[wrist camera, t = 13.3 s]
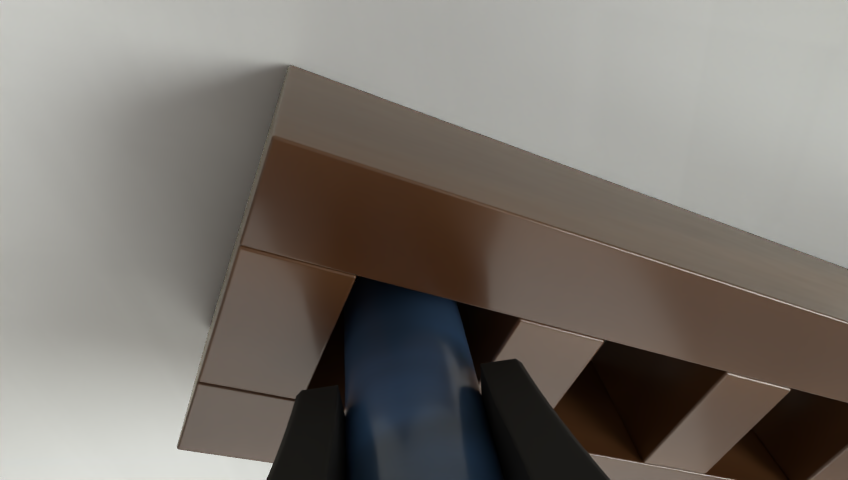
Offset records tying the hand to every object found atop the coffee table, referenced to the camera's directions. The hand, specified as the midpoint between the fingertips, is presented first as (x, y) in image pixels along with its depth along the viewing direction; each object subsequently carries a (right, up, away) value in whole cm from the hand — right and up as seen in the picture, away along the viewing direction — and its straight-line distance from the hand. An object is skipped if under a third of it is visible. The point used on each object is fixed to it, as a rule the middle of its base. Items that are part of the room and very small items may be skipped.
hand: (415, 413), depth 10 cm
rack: (+4, +1, +6) cm, 7 cm away
